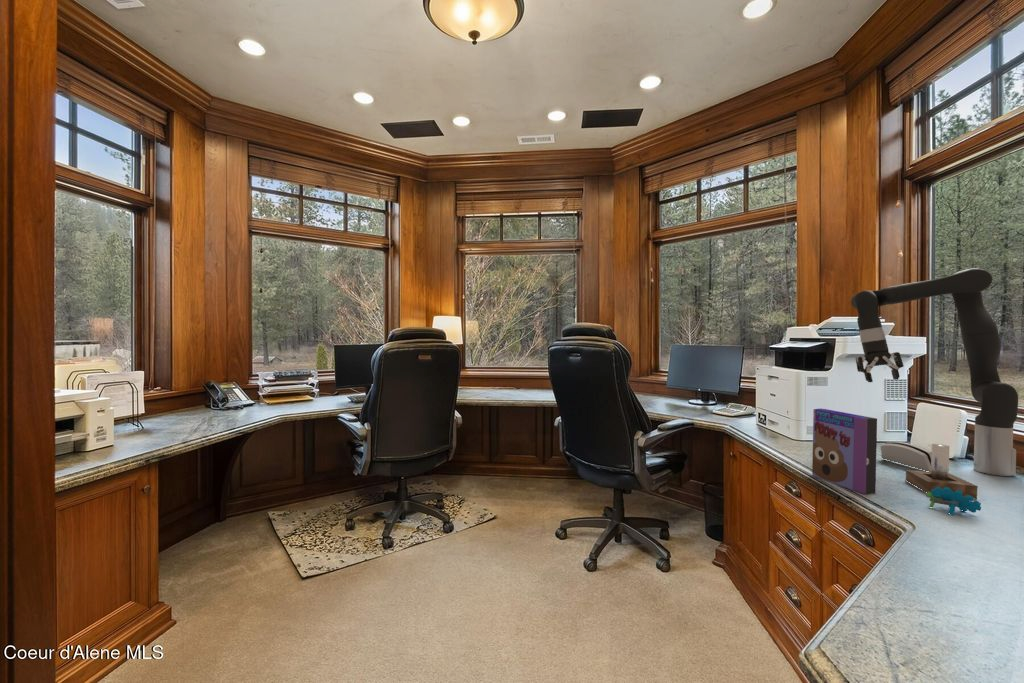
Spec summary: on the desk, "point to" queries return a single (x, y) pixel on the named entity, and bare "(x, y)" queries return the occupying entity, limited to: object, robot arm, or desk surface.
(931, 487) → the socket block
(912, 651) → the desk surface
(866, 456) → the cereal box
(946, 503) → the toy stegosaurus
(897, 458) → the grey curved block
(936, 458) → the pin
